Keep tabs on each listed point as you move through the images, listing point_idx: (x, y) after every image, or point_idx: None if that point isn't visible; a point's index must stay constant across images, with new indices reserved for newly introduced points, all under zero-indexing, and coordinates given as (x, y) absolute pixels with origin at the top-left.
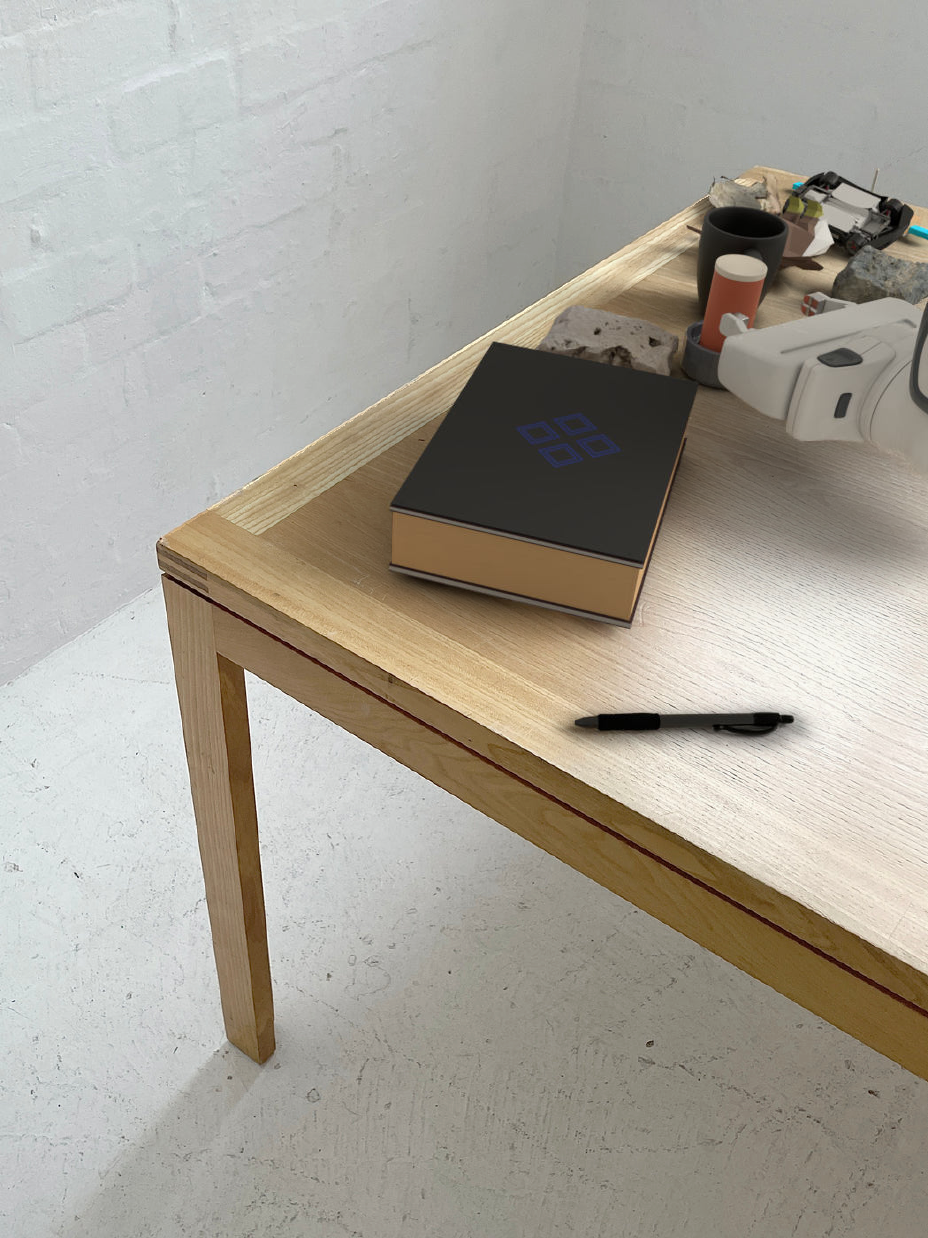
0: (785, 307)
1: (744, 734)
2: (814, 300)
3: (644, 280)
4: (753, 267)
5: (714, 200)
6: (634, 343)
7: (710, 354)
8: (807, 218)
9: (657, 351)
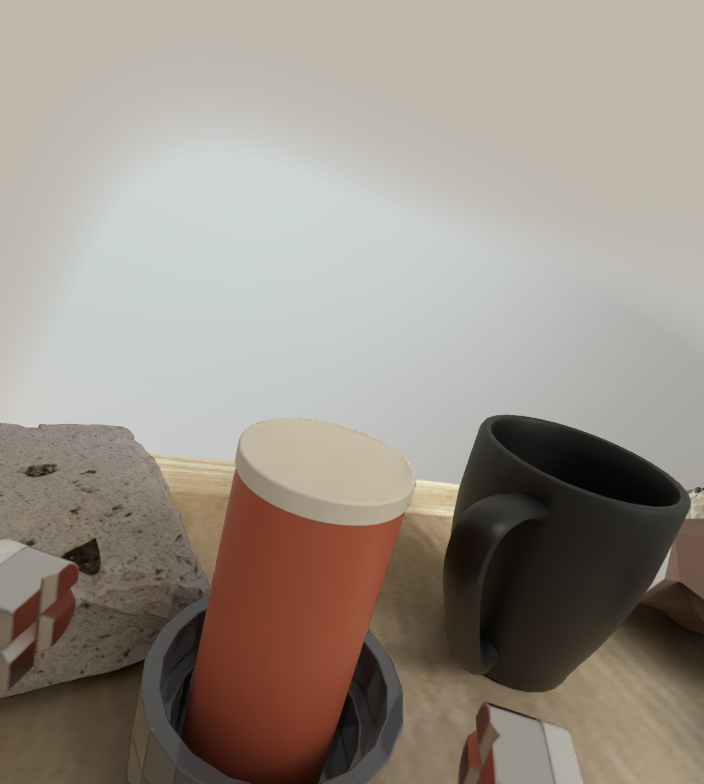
0: (668, 719)
1: None
2: (488, 759)
3: (440, 518)
4: (346, 476)
5: None
6: (26, 528)
7: (140, 687)
8: None
9: None
